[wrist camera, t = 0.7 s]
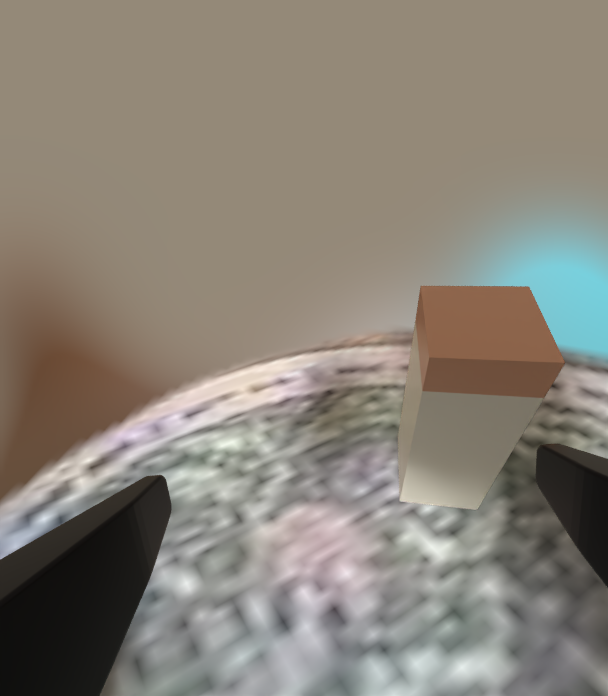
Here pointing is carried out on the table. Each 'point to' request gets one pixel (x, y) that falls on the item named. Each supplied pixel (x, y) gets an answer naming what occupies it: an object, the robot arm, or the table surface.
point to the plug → (470, 389)
